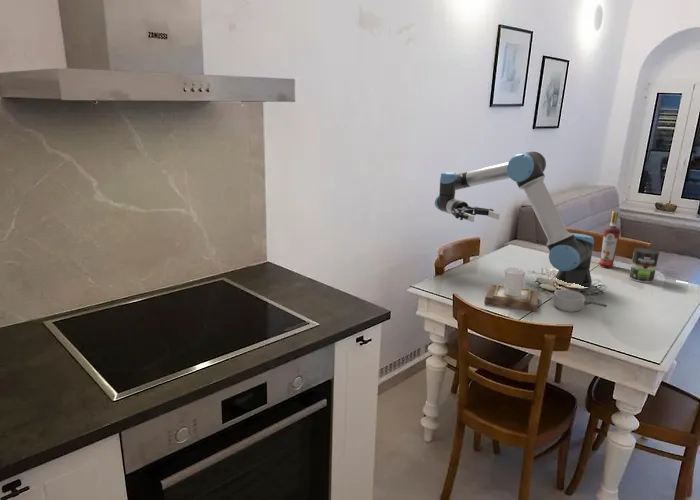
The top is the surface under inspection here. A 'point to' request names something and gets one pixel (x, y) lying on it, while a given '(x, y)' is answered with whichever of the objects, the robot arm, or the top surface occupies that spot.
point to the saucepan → (571, 300)
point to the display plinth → (512, 298)
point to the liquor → (610, 243)
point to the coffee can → (644, 265)
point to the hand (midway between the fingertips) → (486, 217)
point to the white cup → (513, 281)
